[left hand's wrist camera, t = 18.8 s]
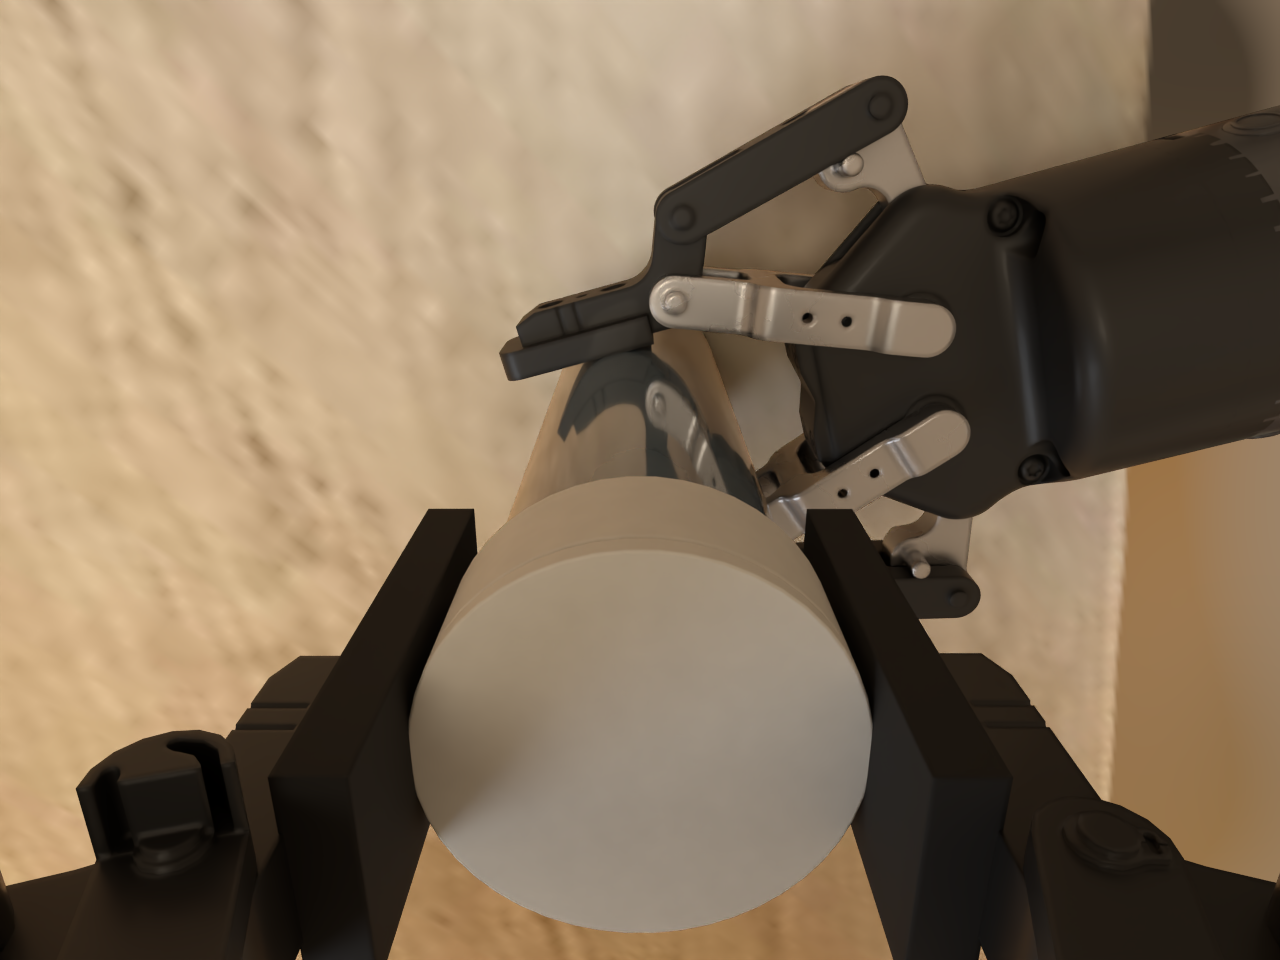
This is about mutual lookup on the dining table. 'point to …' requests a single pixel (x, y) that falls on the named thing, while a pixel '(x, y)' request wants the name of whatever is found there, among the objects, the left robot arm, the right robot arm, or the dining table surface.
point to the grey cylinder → (643, 424)
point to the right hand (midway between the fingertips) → (544, 459)
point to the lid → (640, 710)
